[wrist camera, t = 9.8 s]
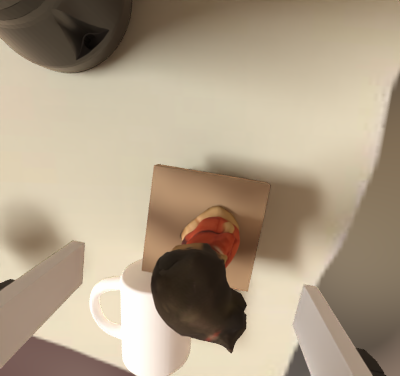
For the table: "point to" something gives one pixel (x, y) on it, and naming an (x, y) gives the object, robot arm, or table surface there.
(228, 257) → the figurine
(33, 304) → the robot arm
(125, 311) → the mug
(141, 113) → the table surface
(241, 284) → the tan legged square part
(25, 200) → the table surface
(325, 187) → the table surface
